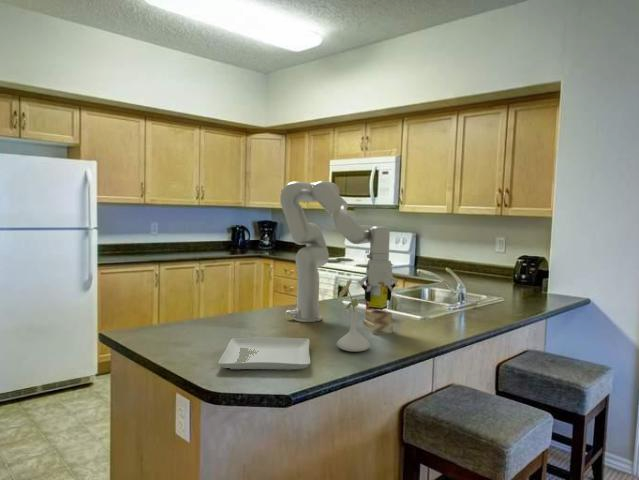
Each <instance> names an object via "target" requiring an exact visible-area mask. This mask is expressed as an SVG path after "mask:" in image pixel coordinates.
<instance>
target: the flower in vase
mask: <svg viewBox="0 0 639 480" xmlns="http://www.w3.org/2000/svg"><path fill="white" fill-rule="evenodd" d="M351 284H352V278H349V279H347V281H346V284H345V285H343V286H342V290H340V292H339V293H338V296H337V298H339V299H341V298H342V297H343V296H344V295H345V294H346V293H348V295H349V297H350V300H351V302H349V303H348V304H347V306H346V308H345V309H347V310H346V311H347V313H348V315H349V319H350V328H349V331H348V332H347V333H346V334H344V335H343V336H342V337H341V338H339V339H338V341H337V342H336V346H337V348H338V349H340V350H343V351H346V352H353V353H354V352H355V353H357V352H364V351H366V350H369V348H370V347H371V345H370V342H369V341H368V340H367V339H366V338H365V337H364V336H363V335H362V334H361V333H360V332H359V330H358V321H359V316H360V314H361V313H362V309H359V308H356V307H357V306H358V305H359V302H358V300H357V298H354V299H353V298H352V295H351V293H350V291H349V287H350V285H351ZM351 307H352V308H351Z"/></svg>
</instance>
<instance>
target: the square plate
mask: <svg viewBox="0 0 639 480" xmlns="http://www.w3.org/2000/svg"><path fill="white" fill-rule="evenodd" d="M310 342H311V341H310V338H306V337H305V338H303V337H300V338H299V337H298V338H297V337H296V338H295V337H233V338H231V339H230V341H229V343H228V345H227V346H226V349H225V350H224V351H223V354H222V355H221V357H220V358H219V360H218V363H217V364H218V365H219V366H220V367H222V368H223V369H226V368H230V369H229V370H240V369H293V370H303V369H305V368H307V367H308V366H309V365H311V356H310ZM241 347H242V348H248V349H249V350H250V349H251V350H252V351H253V350H254V349H255V351H256V352H257V351H259V352H257V354H255V353H254V354H253V355H254V356H253V355H252V354H251V355H250V354H249V357H250V356H251V357H250V358H249V357H248V359H249V360H248V359H247V360H248V361H247V360H246V362H242V363H235V362H237V359H238V358H239V355H240V354H239V352H240V348H241ZM249 350H248V351H249ZM251 350H250V351H251ZM255 351H254V352H255ZM246 358H247V357H246Z"/></svg>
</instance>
